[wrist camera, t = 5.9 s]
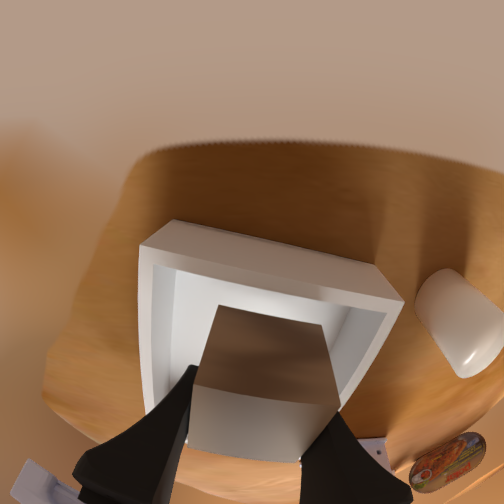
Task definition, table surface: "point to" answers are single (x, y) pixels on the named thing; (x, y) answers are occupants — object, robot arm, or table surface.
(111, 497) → the robot arm
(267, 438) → the walnut cube
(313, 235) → the table surface
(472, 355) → the ceramic cylinder
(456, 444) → the tin
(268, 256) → the tote
